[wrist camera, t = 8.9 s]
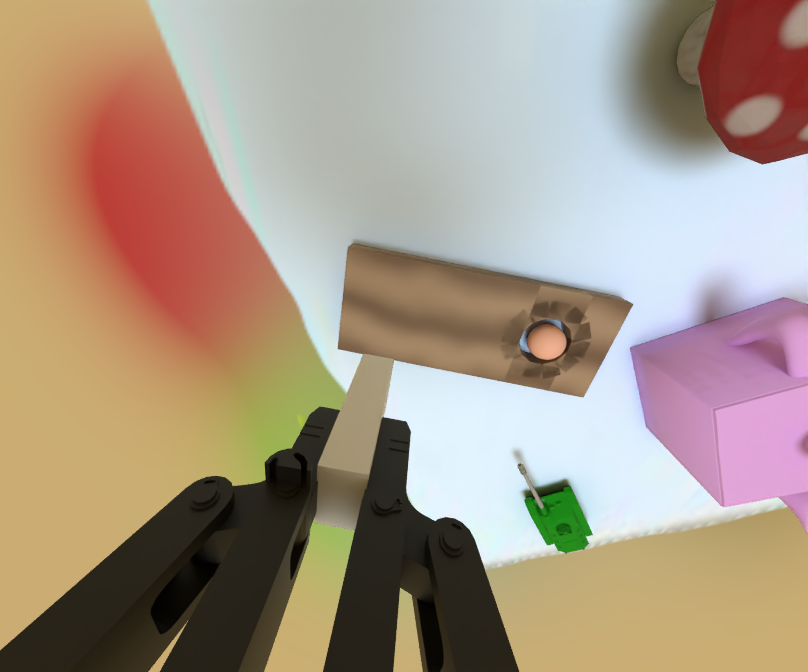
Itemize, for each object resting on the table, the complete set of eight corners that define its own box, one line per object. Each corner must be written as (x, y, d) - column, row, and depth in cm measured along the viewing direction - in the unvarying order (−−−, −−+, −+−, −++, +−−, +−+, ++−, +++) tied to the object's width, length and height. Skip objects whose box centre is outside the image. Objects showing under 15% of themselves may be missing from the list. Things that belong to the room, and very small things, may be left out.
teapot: (653, 463, 43) (748, 575, 30) (622, 311, 34) (736, 379, 22) (781, 432, 39) (950, 545, 27) (782, 254, 31) (1034, 295, 18)
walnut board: (353, 243, 33) (347, 247, 31) (619, 296, 33) (633, 304, 31) (343, 340, 38) (337, 349, 36) (574, 385, 38) (583, 397, 36)
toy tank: (547, 437, 43) (561, 465, 38) (585, 519, 49) (601, 552, 44) (500, 452, 44) (508, 481, 40) (543, 529, 51) (554, 562, 46)
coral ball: (526, 320, 34) (559, 337, 31) (547, 316, 36) (579, 331, 33) (515, 351, 35) (545, 369, 33) (535, 345, 38) (565, 362, 35)
